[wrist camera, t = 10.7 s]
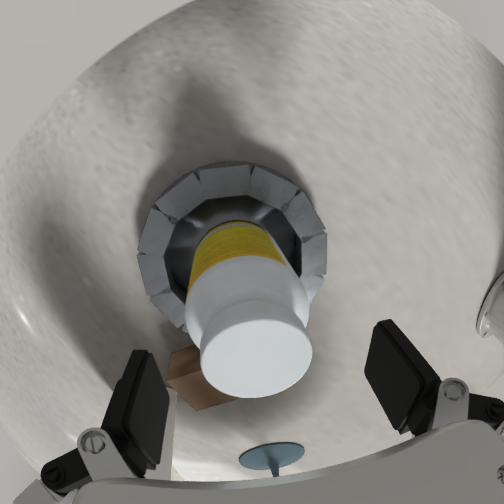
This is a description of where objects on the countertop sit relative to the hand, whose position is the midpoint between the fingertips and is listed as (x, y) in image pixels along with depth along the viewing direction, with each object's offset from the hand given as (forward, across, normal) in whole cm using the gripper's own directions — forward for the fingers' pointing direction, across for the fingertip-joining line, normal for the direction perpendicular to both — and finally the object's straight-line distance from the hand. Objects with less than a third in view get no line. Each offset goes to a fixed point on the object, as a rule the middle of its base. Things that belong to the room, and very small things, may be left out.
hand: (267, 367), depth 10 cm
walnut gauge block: (+12, +5, +11) cm, 17 cm away
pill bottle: (+12, +1, 0) cm, 12 cm away
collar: (+12, +1, 0) cm, 12 cm away
